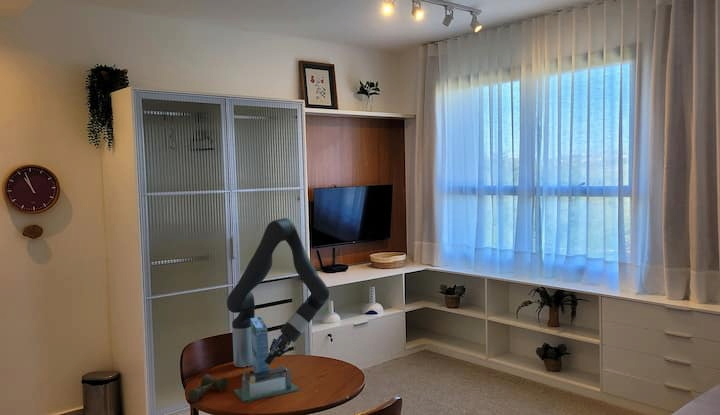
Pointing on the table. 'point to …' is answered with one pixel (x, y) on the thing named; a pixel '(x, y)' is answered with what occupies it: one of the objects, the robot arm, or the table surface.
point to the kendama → (207, 387)
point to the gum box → (259, 344)
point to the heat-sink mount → (265, 386)
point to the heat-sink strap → (268, 372)
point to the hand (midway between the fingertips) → (266, 363)
